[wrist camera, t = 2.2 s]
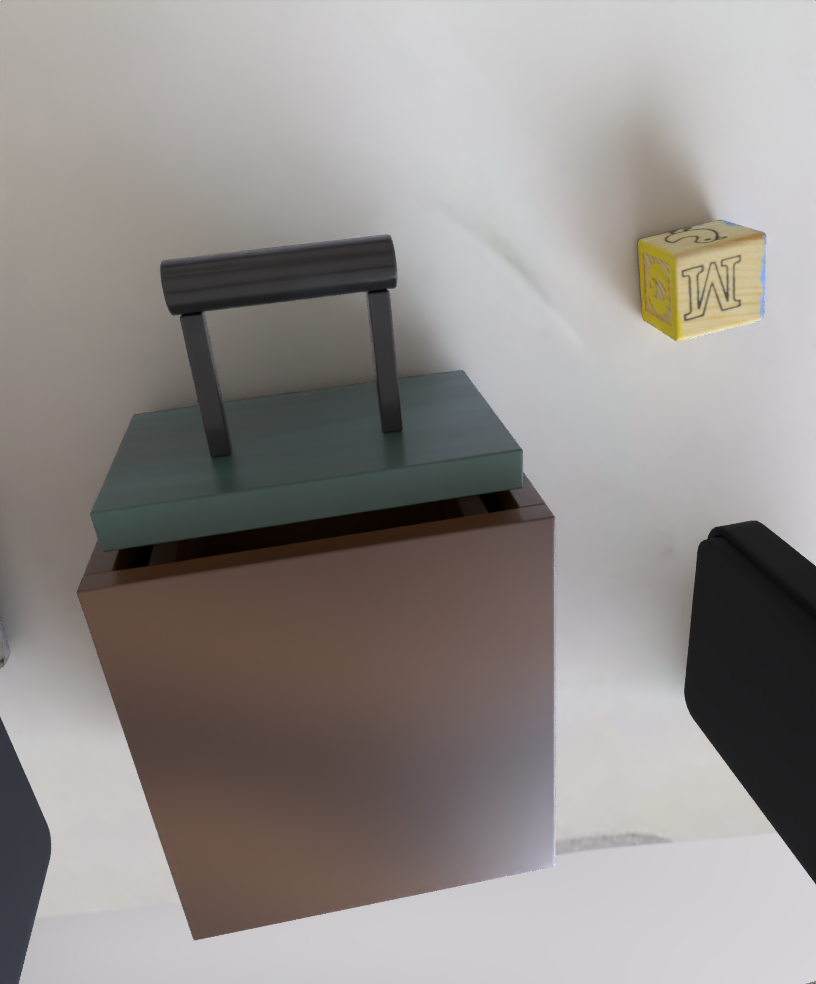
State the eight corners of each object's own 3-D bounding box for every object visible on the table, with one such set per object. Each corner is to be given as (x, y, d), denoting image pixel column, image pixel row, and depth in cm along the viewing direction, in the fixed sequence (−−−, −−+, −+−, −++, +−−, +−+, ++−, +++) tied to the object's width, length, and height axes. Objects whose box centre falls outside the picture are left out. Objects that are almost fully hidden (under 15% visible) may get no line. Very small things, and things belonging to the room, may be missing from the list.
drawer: (88, 245, 24) (21, 296, 17) (453, 204, 25) (518, 237, 18) (210, 707, 32) (196, 858, 26) (479, 660, 33) (530, 793, 27)
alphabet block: (720, 302, 29) (767, 322, 26) (640, 322, 29) (678, 345, 26) (719, 217, 27) (768, 229, 25) (634, 238, 27) (675, 252, 25)
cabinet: (131, 451, 28) (75, 592, 20) (476, 403, 29) (555, 516, 21) (211, 744, 34) (193, 941, 26) (490, 694, 35) (556, 867, 27)
